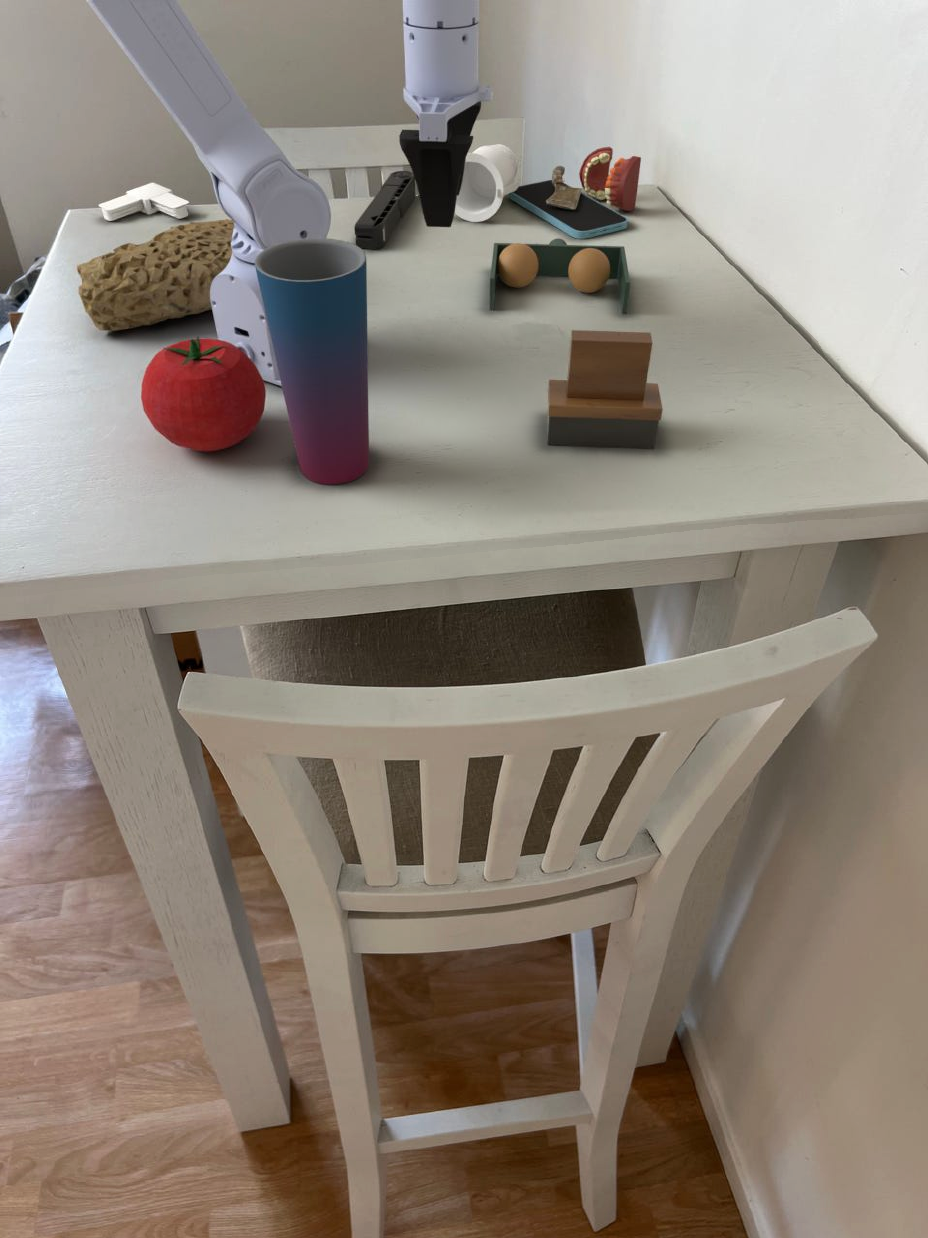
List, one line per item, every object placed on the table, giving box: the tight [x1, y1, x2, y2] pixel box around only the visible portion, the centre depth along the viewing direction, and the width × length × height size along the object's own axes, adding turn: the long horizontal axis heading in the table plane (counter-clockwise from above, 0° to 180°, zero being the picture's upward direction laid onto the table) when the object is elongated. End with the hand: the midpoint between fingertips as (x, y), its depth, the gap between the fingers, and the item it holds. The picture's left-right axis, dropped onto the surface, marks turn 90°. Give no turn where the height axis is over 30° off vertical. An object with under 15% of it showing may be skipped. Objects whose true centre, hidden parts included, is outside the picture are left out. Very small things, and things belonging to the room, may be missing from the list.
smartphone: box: [508, 179, 629, 240], centre depth 102 cm, size 7×1×15 cm
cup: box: [255, 237, 370, 485], centre depth 60 cm, size 7×7×15 cm
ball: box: [568, 248, 610, 294], centre depth 85 cm, size 4×4×4 cm
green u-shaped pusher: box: [489, 237, 631, 315], centre depth 86 cm, size 12×13×3 cm
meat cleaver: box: [546, 165, 582, 210], centre depth 103 cm, size 12×1×5 cm
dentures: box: [578, 146, 642, 212], centre depth 102 cm, size 6×4×8 cm
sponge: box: [76, 218, 235, 332], centre depth 82 cm, size 13×8×20 cm
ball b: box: [497, 242, 538, 289], centre depth 86 cm, size 4×4×4 cm
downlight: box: [454, 143, 520, 223], centre depth 101 cm, size 8×7×10 cm
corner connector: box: [98, 181, 190, 222], centre depth 101 cm, size 8×8×2 cm
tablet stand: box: [353, 170, 417, 250], centre depth 100 cm, size 18×3×3 cm
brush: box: [546, 329, 664, 450], centre depth 65 cm, size 4×8×8 cm, turn 86°
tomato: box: [140, 336, 267, 452], centre depth 65 cm, size 9×9×8 cm
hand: (443, 209), depth 76 cm, fingers open, 7 cm apart
